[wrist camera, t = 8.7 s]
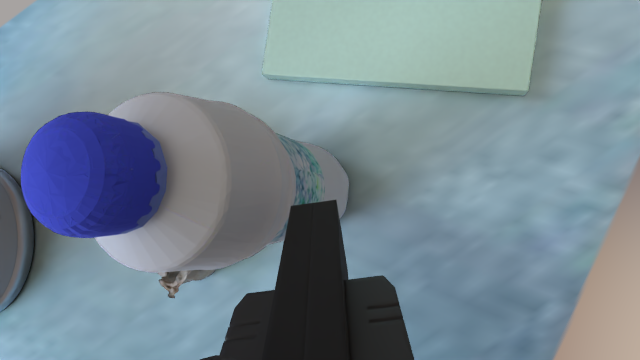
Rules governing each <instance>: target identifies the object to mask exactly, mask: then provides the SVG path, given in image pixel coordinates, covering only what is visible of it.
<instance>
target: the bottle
mask: <svg viewBox="0 0 640 360" xmlns="http://www.w3.org/2000/svg"><path fill="white" fill-rule="evenodd" d="M21 186H22V192H23V196H24V199H25V202H26V204H27V206H28V208H29V210H30V211H31V213H32V214H33V216H34V217H35V218H36V219H37V220H38V221H39V222H40V223H42V224H43V225H44V226H46V227H47V228H49V229H50V230H52V231H53V232H55V233H58V234H61V235H64V236H69V237H78V238H94V237H95V239H96V240H97V242H98V244H99V245H100V246H101V247H102V248H103V249H104V250H105V251H106V252H107V253H108V254H109V255H110V257H112V258H113V259H115V260H116V261H118V262H119V263H121V264H123V265H125V266H127V267H129V268H132V269H135V270H139V271H144V272H150V273H157V272H174V271H187V270H213V269H220V268H224V267H227V266H230V265H232V264H234V263H237V262H239V261H241V260H244V259H246V258H248V257H251V256H253V255H255V254H256V253H258V252H259V251H260V250H262V249H263V248H265V247H266V246H267V245H269V244H273V243H277V242H281V241H284V240H285V234H286V229H287V224H288V219H289V213H290V208H291V206H293V205H300V204H308V203H315V202H322V201H329V200H337V206H338V212H339V219H340V218H341V217H342V216H343V214H344V212H345V210H346V205H347V199H348V189H349V180H348V176H347V174H346V172H345V171H344V169H343V168H342V166H341V165H340V163H339V162H338V160H337V159H336V158H335V157H334V156H333V155H332V154H330V153H329V152H328V151H326V150H325V149H323V148H321V147H318V146H315V145H312V144H309V143H304V142H299V141H294V140H292V139H289V138H287V137H284V136H282V135H279V134H277V133H274V131H273V130H272V129H271V128H270V127H269V126H268V125H266V124H265V123H264V122H263V121H261V120H260V119H258V118H257V117H255V116H253V115H251V114H249V113H247V112H246V111H244V110H242V109H241V108H239V107H237V106H235V105H232V104H229V103H225V102H219V101H209V100H204V99H199V98H194V97H189V96H184V95H179V94H174V93H169V92H152V93H148V94H143V95H139V96H136V97H133V98H131V99H129V100H127V101H125V102H123V103H121V104H120V105H119V106H117V107H116V108H115V109H114V110H112V111H111V112H110V113H109V114H108V115H105V114H100V113H95V112H74V113H68V114H65V115H61V116H58V117H57V118H55V119H53V120H51V121H50V122H48V123H46V124H45V125H44V126H43V127H41V128H40V129H39V130H38V131H37V132H36V134H35V135H34V136H33V137H32V139H31V141H30V143H29V144H28V146H27V149H26V151H25V154H24V157H23V162H22V167H21Z"/></svg>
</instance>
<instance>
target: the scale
mask: <svg viewBox="0 0 640 360" xmlns="http://www.w3.org/2000/svg"><path fill="white" fill-rule="evenodd" d="M541 3H542V0H272V6H271V13H270V20H269V27H268V33H267V40H266V47H265V54H264V60H263V67H262V75H263V76H265V77H266V78H268V79H276V80H292V81H307V82H322V83H337V84H352V85H368V86H383V87H398V88H413V89H429V90H444V91H459V92H474V93H489V94H505V95H520V96H524V95H525V94H526V93H527V92H528V90H529V85H530V78H531V71H532V64H533V58H534V51H535V44H536V37H537V31H538V24H539V17H540V10H541Z"/></svg>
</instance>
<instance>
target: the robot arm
mask: <svg viewBox="0 0 640 360" xmlns="http://www.w3.org/2000/svg"><path fill="white" fill-rule="evenodd" d="M33 246H34V231H33V222H32V216H31V212H30V210H29V208H28V206H27V204H26V202H25V199H24V196H23V192H22V190H21V188H20V187H19V185H18V184H17V182H16V181H15V180H14V179H13V178H12V177H11V176H10V175H9V174H8V173H7V172H5V171H4V170H2V169H1V168H0V312H1V311H2V310H4V309H5V308H6V307H7V306H8V305H9V304H10V303H11V302H12V301H13V300H14V299H15V298H16V296H17V295H18V293H19V292H20V290H21V288H22V287H23V285H24V282H25V280H26V278H27V275H28V272H29V269H30V265H31V261H32V255H33ZM201 360H414V357H413V353H412V350H411V346H410V342H409V338H408V335H407V331H406V327H405V323H404V320H403V316H402V312H401V309H400V306H399V301H398V297H397V294H396V290H395V287H394V286H393V285H392V284H391V283H390V282H389V281H388V280H387V279H386V278H385V277H384V276H375V277H367V278H358V279H350V280H348V270H347V264H346V257H345V251H344V245H343V238H342V232H341V225H340V219H339V212H338V206H337V200H329V201H322V202H315V203H308V204H300V205H293V206H291V208H290V213H289V219H288V224H287V229H286V234H285V240H284V245H283V250H282V255H281V261H280V266H279V271H278V276H277V282H276V287H275V290H272V291H264V292H256V293H248V294H246V295H245V297H244V298H243V299H242V300H241V301H240V302H239V304H238V305H237V306H236V307H235V309H234V312H233V315H232V318H231V321H230V327H229V328H228V331H227V334H226V337H225V341H224V343H223V346H222V350H221V353H220V356H218V355H215V356H211V357H208V358H204V359H201Z"/></svg>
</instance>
